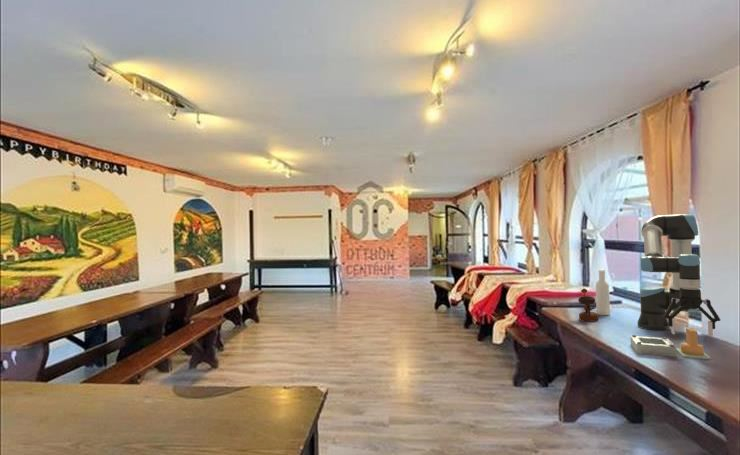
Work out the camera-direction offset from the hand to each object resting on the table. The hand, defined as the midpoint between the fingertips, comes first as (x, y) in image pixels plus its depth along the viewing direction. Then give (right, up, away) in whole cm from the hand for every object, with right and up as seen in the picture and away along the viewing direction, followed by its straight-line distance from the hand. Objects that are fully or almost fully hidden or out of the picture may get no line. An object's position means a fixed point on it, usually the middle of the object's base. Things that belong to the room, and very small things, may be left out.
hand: (691, 334), depth 178 cm
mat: (0, -9, 0) cm, 9 cm away
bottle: (+10, -10, +84) cm, 85 cm away
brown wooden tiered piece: (-8, -10, +69) cm, 70 cm away
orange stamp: (0, -8, 0) cm, 8 cm away
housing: (-13, -9, +6) cm, 17 cm away
